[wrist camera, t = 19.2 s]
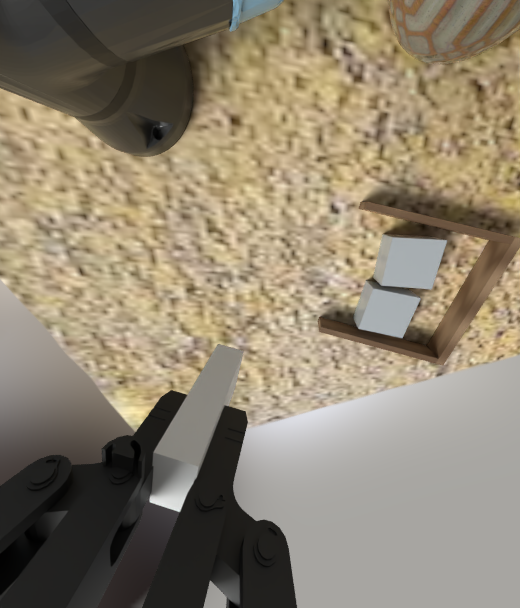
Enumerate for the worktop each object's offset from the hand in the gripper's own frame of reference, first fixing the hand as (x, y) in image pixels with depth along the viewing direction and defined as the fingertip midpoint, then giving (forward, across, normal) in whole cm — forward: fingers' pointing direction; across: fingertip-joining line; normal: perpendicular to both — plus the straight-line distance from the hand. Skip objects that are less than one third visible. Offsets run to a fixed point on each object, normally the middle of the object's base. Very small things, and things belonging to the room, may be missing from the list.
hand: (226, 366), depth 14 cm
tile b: (+25, +17, -1) cm, 30 cm away
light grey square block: (+25, +17, +6) cm, 30 cm away
